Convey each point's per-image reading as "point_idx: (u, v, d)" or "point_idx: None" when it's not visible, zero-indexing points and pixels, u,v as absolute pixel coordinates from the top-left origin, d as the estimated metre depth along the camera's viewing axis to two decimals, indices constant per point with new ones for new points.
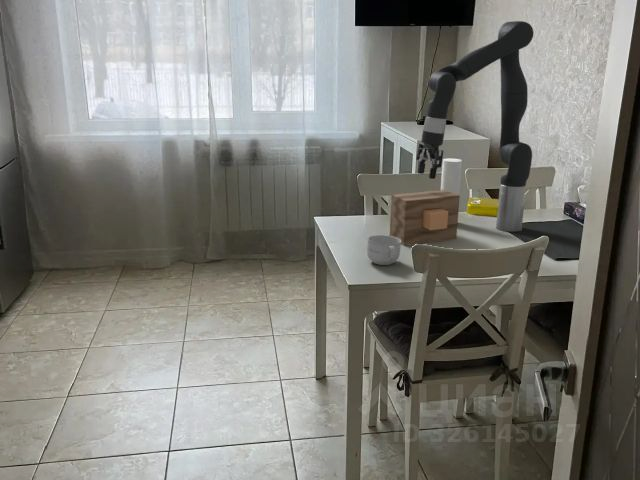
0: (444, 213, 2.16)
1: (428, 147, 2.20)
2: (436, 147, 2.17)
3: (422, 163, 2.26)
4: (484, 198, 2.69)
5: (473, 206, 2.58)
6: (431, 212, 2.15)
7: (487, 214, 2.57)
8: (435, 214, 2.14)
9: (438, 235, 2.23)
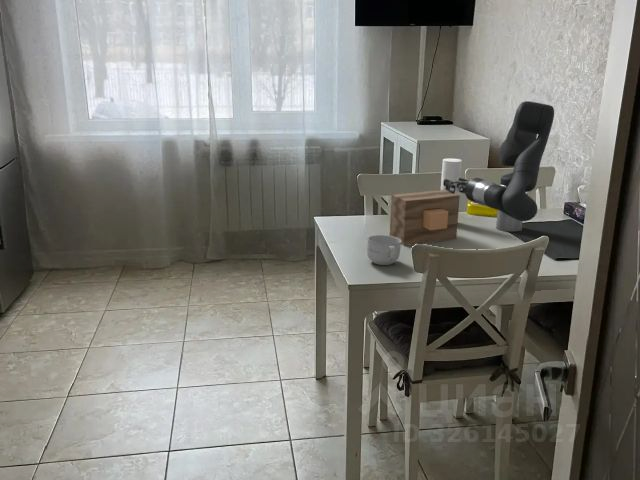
0: (444, 213, 2.16)
1: None
2: None
3: None
4: None
5: (473, 206, 2.58)
6: (431, 212, 2.15)
7: (487, 214, 2.57)
8: (435, 214, 2.14)
9: (438, 235, 2.23)
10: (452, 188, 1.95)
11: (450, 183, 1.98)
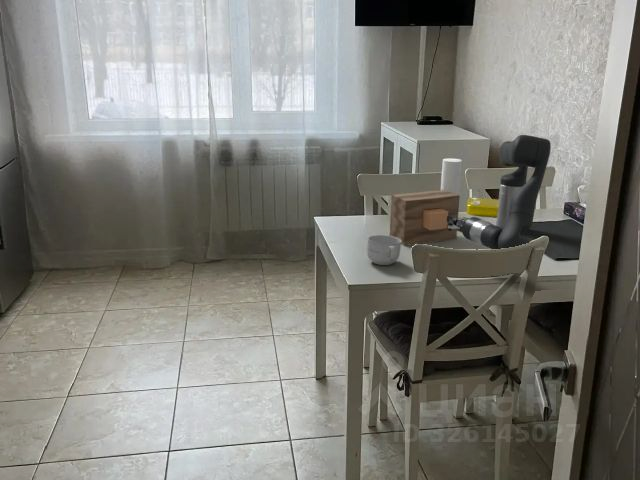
0: (444, 213, 2.16)
1: None
2: None
3: None
4: (483, 198, 2.69)
5: (473, 207, 2.57)
6: (431, 212, 2.15)
7: (487, 215, 2.57)
8: (435, 214, 2.14)
9: (438, 235, 2.23)
10: (448, 225, 2.00)
11: (451, 220, 2.02)
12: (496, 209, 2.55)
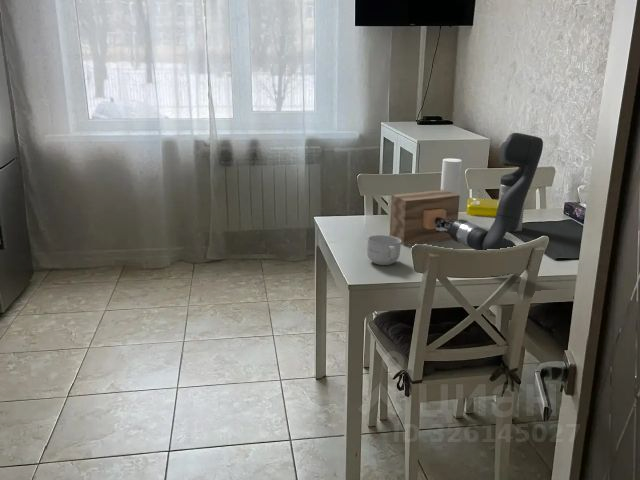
0: (442, 212, 2.17)
1: None
2: None
3: None
4: (483, 199, 2.68)
5: (473, 207, 2.57)
6: (429, 211, 2.16)
7: (487, 215, 2.56)
8: (433, 213, 2.15)
9: (438, 235, 2.23)
10: (436, 227, 2.07)
11: (439, 222, 2.09)
12: (496, 209, 2.55)
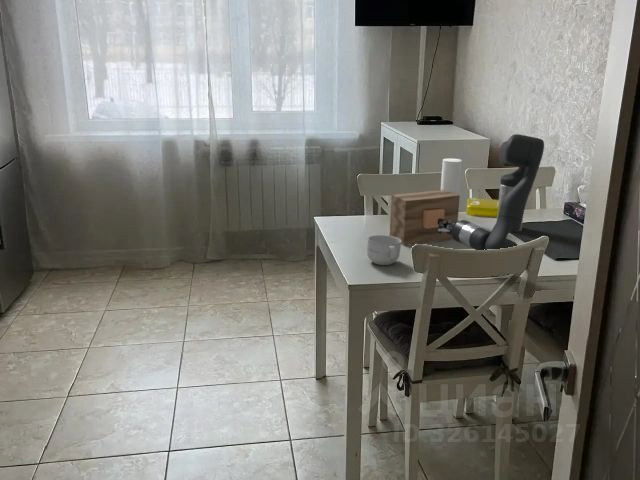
0: (440, 211, 2.18)
1: None
2: None
3: None
4: (482, 199, 2.68)
5: (473, 207, 2.56)
6: (428, 210, 2.17)
7: (487, 215, 2.56)
8: (432, 212, 2.16)
9: (438, 235, 2.23)
10: (438, 228, 2.05)
11: (441, 223, 2.08)
12: (496, 209, 2.54)
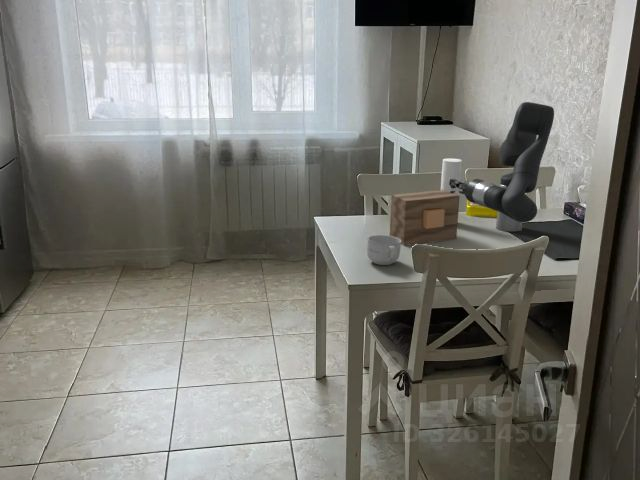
0: (440, 211, 2.18)
1: None
2: None
3: None
4: None
5: (473, 207, 2.56)
6: (428, 210, 2.17)
7: (487, 215, 2.55)
8: (432, 212, 2.16)
9: (438, 235, 2.23)
10: (451, 188, 1.97)
11: (453, 183, 1.99)
12: None
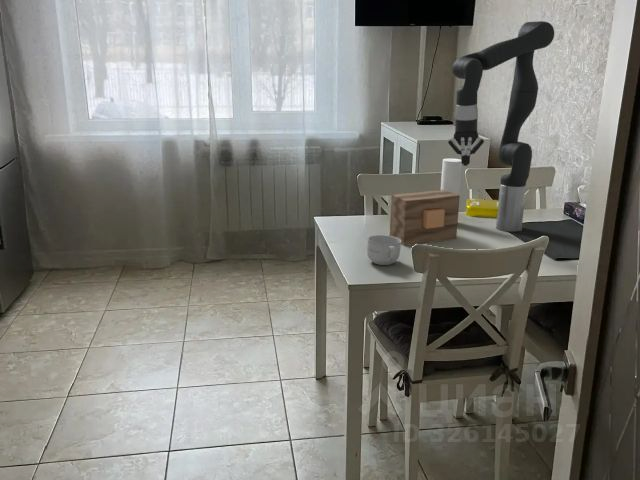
0: (440, 211, 2.18)
1: (466, 134, 2.19)
2: None
3: (465, 155, 2.23)
4: (481, 199, 2.67)
5: (473, 208, 2.55)
6: (428, 210, 2.17)
7: (487, 216, 2.55)
8: (432, 212, 2.16)
9: (438, 235, 2.23)
10: (448, 141, 2.22)
11: None
12: (496, 210, 2.54)
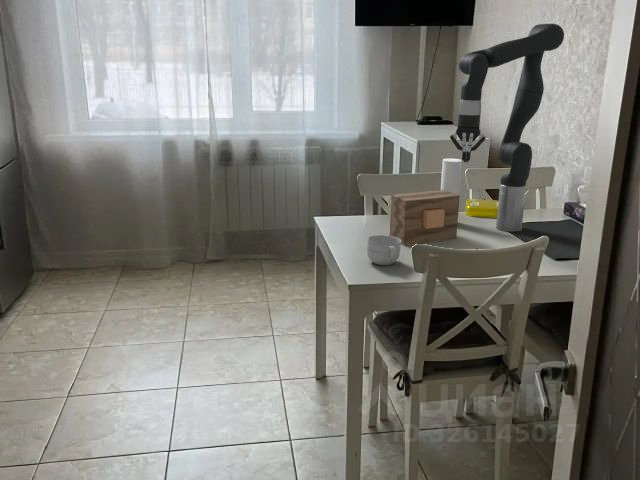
0: (440, 211, 2.18)
1: (468, 130, 2.20)
2: None
3: (466, 151, 2.23)
4: (481, 199, 2.67)
5: (473, 208, 2.55)
6: (428, 210, 2.17)
7: (487, 216, 2.55)
8: (432, 212, 2.16)
9: (438, 235, 2.23)
10: (450, 136, 2.23)
11: None
12: (496, 210, 2.53)
